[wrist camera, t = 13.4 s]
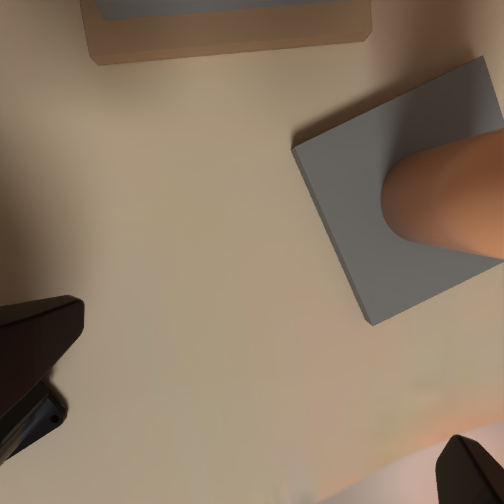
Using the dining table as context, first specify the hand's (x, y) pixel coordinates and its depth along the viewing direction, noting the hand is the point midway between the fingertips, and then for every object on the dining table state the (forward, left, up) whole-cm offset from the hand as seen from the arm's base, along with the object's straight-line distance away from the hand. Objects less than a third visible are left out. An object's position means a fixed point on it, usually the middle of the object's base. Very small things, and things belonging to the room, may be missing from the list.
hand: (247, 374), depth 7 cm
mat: (+11, -2, -11) cm, 16 cm away
